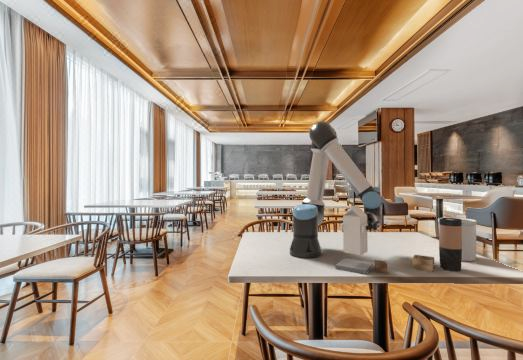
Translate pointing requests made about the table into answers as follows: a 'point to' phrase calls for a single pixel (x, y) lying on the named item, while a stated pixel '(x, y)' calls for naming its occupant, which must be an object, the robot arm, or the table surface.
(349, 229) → the milk carton
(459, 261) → the travel mug
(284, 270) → the table surface
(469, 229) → the utensil holder
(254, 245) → the table surface
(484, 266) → the table surface
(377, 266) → the walnut block
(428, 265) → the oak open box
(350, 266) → the slate board
